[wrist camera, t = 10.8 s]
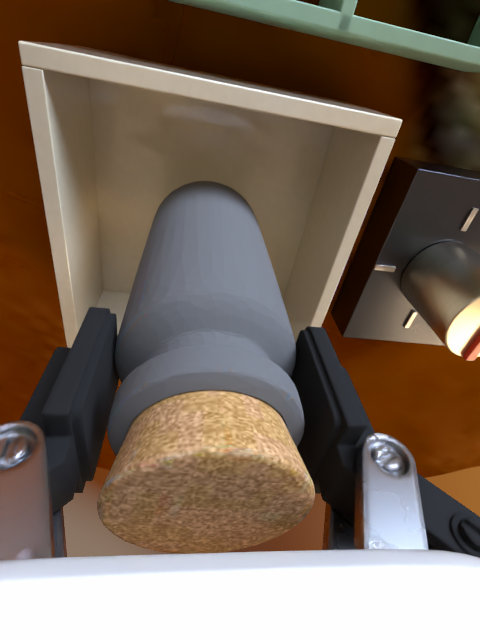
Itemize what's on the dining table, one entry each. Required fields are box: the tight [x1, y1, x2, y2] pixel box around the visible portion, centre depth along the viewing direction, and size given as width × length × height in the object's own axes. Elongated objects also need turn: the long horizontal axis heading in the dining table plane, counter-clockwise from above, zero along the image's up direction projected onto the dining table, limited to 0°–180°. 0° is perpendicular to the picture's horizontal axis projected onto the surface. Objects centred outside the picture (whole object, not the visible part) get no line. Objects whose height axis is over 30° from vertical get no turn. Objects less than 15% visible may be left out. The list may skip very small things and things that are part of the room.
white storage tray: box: [18, 41, 402, 348], centre depth 20 cm, size 14×14×7 cm
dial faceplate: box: [331, 157, 480, 346], centre depth 24 cm, size 12×9×3 cm
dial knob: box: [401, 241, 480, 361], centre depth 21 cm, size 5×5×6 cm
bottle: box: [97, 181, 315, 554], centre depth 13 cm, size 6×6×15 cm
